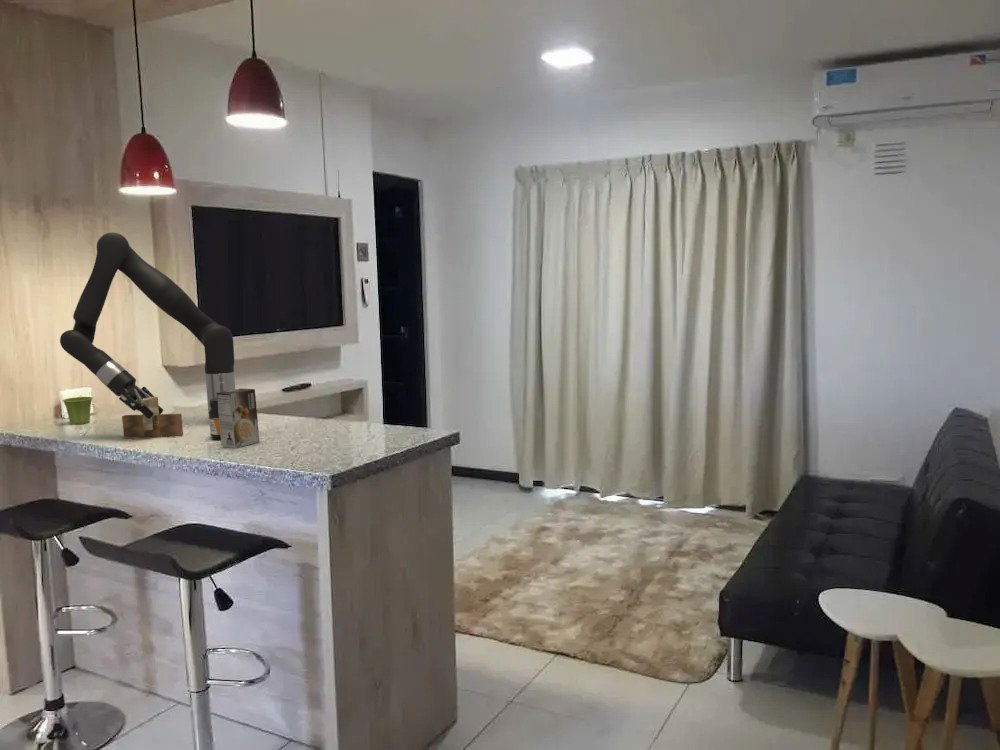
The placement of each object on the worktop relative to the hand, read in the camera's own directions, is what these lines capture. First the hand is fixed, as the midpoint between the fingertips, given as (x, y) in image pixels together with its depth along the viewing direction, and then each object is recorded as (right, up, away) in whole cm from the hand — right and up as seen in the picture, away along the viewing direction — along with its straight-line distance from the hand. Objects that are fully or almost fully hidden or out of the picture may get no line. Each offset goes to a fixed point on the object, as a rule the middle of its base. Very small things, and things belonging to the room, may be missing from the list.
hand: (156, 414), depth 255 cm
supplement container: (+24, -7, -4) cm, 25 cm away
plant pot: (-40, -5, +31) cm, 51 cm away
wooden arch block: (-2, -4, +1) cm, 5 cm away
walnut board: (-1, -7, +1) cm, 7 cm away
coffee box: (+31, -8, -16) cm, 36 cm away
